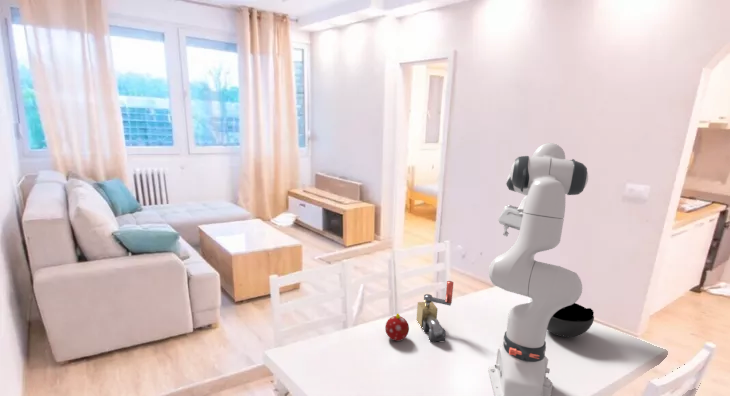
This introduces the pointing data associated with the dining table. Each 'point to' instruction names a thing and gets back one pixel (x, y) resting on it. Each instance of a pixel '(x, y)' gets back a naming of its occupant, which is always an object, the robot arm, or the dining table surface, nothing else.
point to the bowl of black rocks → (571, 321)
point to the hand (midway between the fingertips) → (515, 239)
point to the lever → (447, 301)
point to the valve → (430, 321)
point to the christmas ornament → (397, 328)
